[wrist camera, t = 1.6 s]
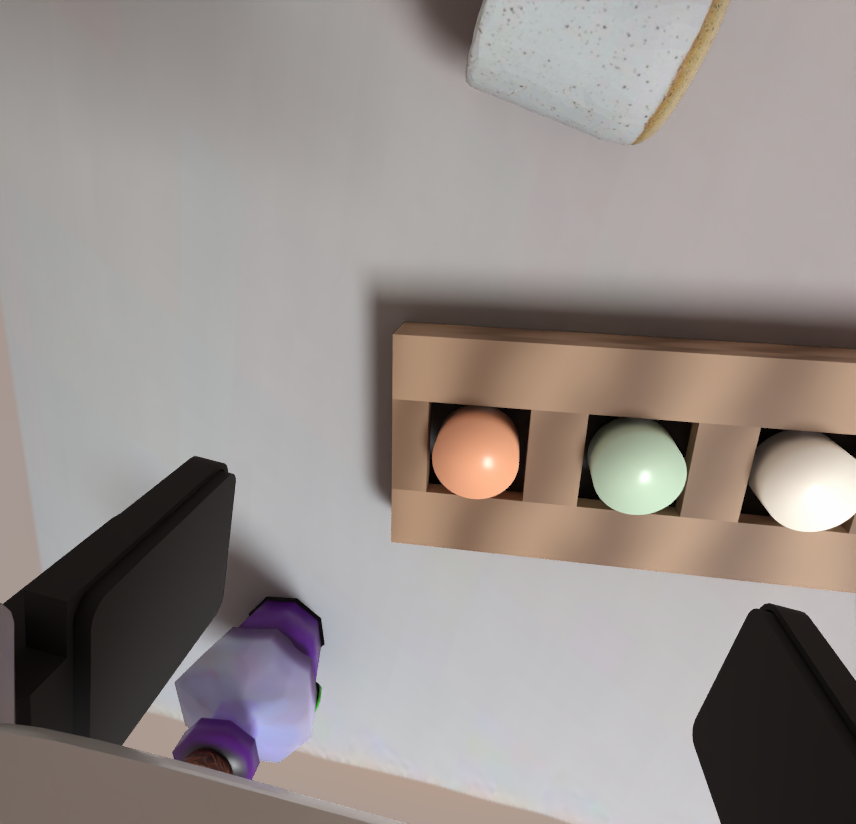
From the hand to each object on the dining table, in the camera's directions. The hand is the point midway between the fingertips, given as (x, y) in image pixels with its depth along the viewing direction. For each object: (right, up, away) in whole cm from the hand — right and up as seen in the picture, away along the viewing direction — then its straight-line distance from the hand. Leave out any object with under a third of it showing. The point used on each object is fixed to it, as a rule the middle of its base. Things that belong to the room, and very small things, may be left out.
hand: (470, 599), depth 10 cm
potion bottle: (-11, -12, +30) cm, 34 cm away
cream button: (+18, 0, +19) cm, 26 cm away
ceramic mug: (+6, +21, +16) cm, 27 cm away
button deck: (+10, +2, +22) cm, 24 cm away
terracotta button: (+2, +2, +21) cm, 22 cm away
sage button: (+10, +1, +20) cm, 23 cm away
